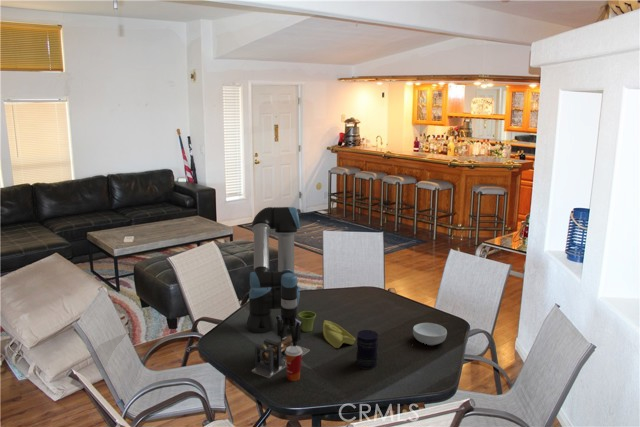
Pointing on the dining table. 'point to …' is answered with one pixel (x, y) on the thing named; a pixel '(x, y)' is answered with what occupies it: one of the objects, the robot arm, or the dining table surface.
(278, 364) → the rail
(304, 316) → the plant pot
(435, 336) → the cereal bowl
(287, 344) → the copper tube
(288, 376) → the paper cup
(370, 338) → the storage jar
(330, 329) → the plastic component
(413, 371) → the dining table surface
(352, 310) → the dining table surface
